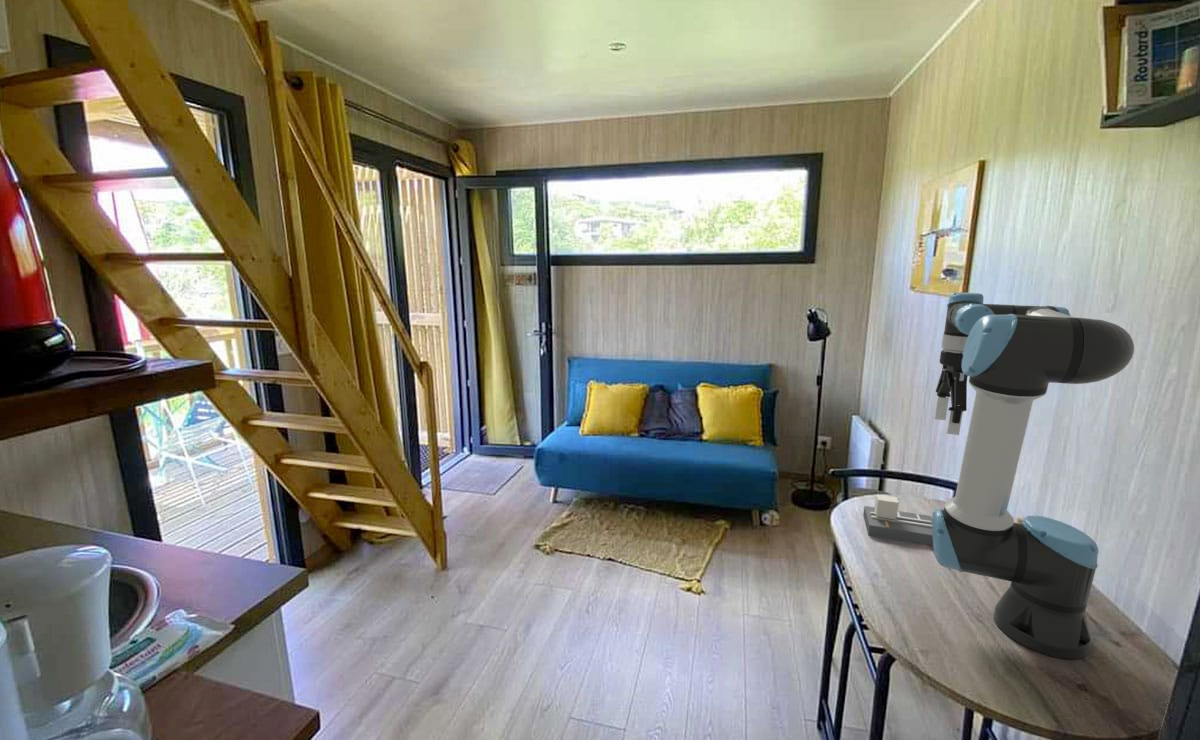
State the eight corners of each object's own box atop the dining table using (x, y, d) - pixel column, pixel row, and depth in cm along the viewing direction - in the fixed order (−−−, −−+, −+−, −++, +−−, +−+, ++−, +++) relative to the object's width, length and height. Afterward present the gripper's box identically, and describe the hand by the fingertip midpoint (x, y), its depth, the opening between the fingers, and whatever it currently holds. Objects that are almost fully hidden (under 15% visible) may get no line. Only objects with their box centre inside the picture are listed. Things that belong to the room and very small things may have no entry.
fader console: (939, 547, 139) (941, 535, 138) (868, 535, 145) (869, 523, 144) (929, 525, 150) (931, 514, 149) (863, 515, 156) (864, 504, 155)
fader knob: (896, 521, 145) (898, 502, 144) (875, 518, 147) (878, 499, 146) (893, 515, 149) (896, 497, 148) (874, 512, 150) (876, 494, 149)
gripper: (990, 360, 129) (976, 442, 134) (960, 344, 152) (949, 415, 156) (954, 358, 131) (941, 439, 136) (930, 342, 154) (920, 412, 159)
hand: (945, 426), depth 146 cm, fingers open, 13 cm apart
